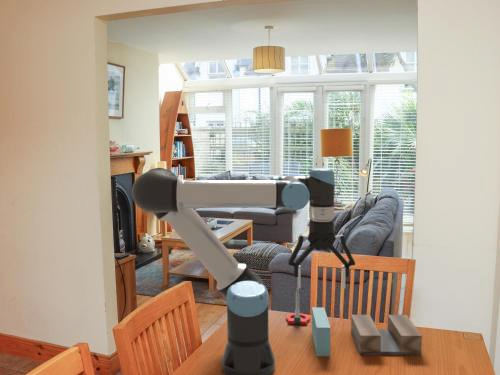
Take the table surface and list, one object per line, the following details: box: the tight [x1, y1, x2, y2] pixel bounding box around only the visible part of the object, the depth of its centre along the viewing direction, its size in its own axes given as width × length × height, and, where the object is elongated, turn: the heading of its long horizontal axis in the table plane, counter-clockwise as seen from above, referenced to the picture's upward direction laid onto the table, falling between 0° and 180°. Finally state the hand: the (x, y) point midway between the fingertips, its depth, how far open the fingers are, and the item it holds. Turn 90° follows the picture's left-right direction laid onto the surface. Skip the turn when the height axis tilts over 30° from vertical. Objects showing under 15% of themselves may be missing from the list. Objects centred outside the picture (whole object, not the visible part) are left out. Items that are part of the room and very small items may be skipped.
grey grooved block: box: [350, 314, 423, 356], centre depth 150 cm, size 18×16×6 cm
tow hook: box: [285, 287, 311, 326], centre depth 169 cm, size 8×13×9 cm
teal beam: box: [311, 306, 331, 357], centre depth 150 cm, size 16×4×9 cm, turn 178°
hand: (321, 287), depth 148 cm, fingers open, 13 cm apart
